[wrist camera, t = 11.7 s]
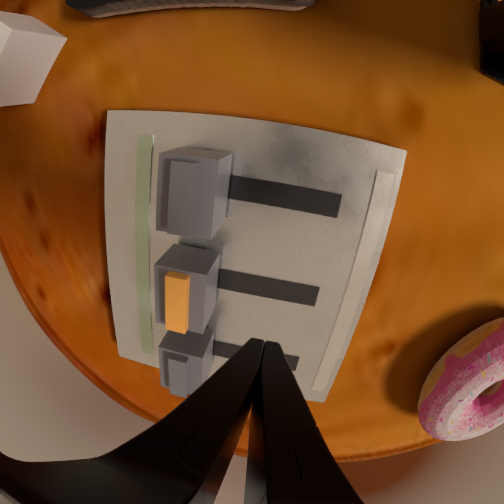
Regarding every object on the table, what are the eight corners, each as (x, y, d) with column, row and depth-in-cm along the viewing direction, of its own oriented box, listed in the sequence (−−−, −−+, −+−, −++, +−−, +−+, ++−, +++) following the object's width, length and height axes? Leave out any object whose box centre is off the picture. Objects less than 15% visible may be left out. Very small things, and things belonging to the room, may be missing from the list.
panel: (399, 148, 17) (407, 151, 15) (323, 389, 25) (324, 403, 24) (119, 109, 18) (106, 110, 17) (126, 345, 27) (118, 356, 25)
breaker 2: (214, 330, 22) (200, 364, 19) (211, 369, 23) (198, 403, 20) (173, 320, 22) (154, 352, 19) (174, 360, 24) (158, 391, 20)
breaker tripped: (220, 252, 19) (203, 280, 16) (215, 306, 21) (199, 340, 18) (173, 243, 20) (149, 269, 16) (172, 297, 21) (151, 328, 18)
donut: (423, 429, 26) (431, 465, 22) (397, 352, 23) (410, 397, 18) (527, 375, 22) (544, 406, 18) (530, 281, 19) (560, 313, 14)
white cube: (4, 75, 18) (-46, 78, 13) (33, 16, 16) (-17, 8, 10) (34, 103, 19) (-21, 109, 13) (68, 38, 17) (12, 29, 11)
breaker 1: (232, 153, 17) (215, 161, 14) (224, 221, 18) (207, 244, 15) (181, 147, 17) (153, 154, 14) (176, 213, 19) (150, 234, 15)
